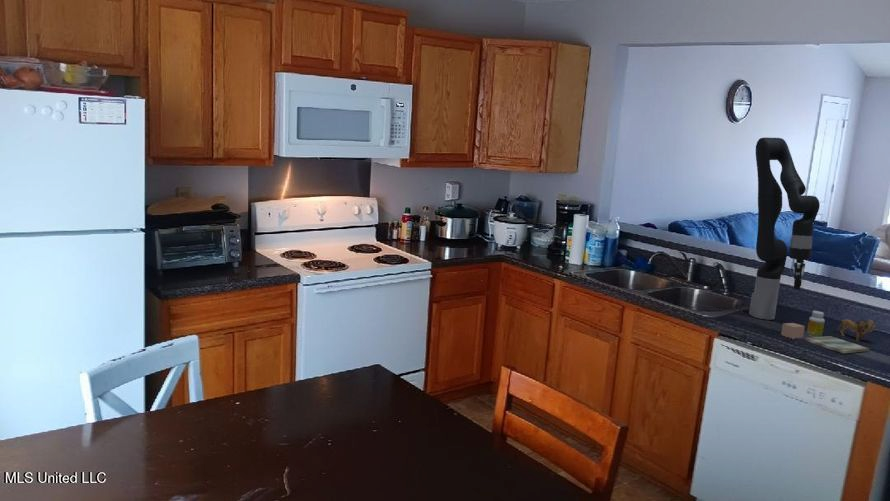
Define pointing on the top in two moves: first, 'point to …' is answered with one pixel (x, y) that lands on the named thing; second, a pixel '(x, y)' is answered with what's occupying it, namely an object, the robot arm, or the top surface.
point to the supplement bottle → (816, 324)
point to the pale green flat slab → (837, 344)
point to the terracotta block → (793, 330)
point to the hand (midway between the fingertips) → (797, 287)
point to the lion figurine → (857, 327)
